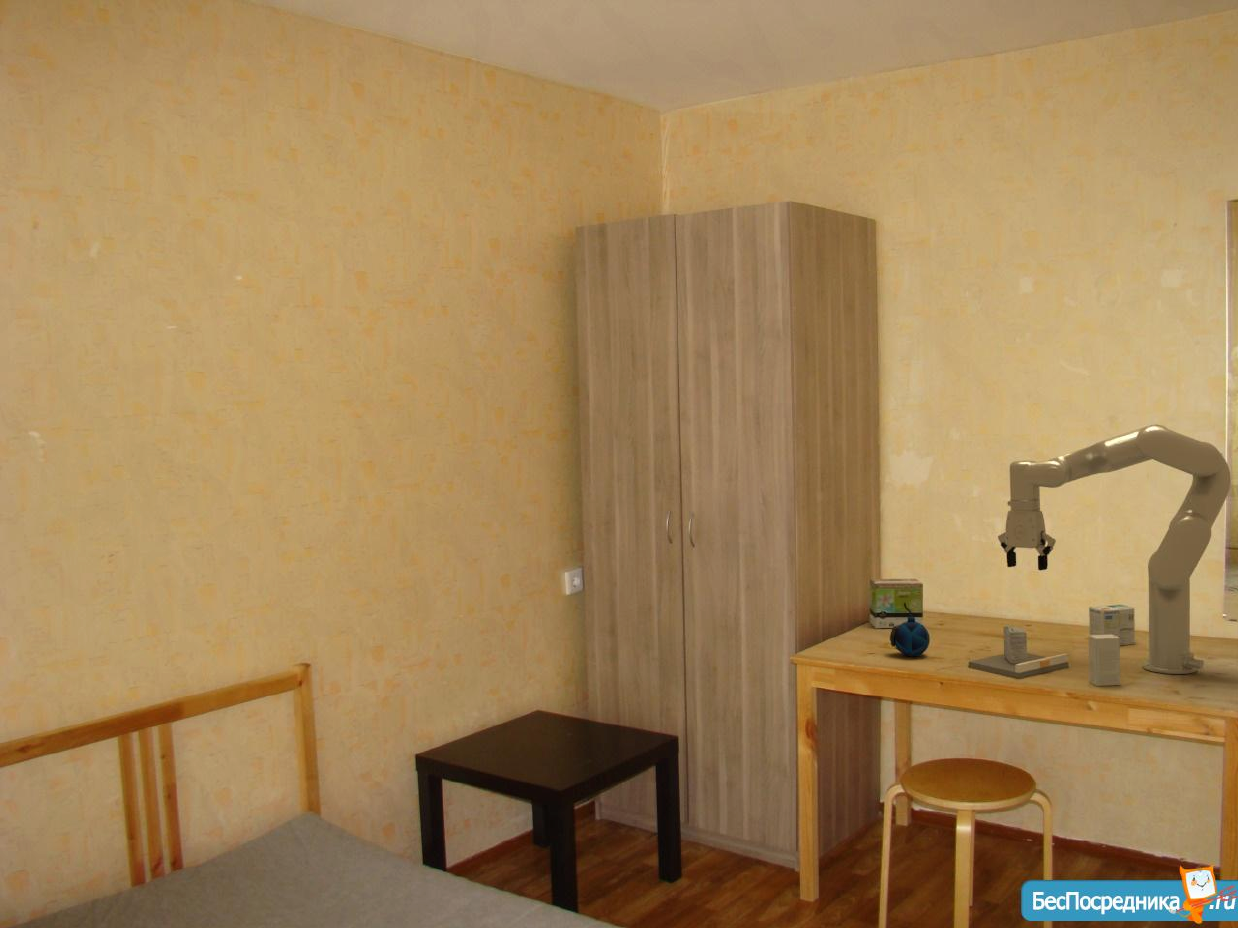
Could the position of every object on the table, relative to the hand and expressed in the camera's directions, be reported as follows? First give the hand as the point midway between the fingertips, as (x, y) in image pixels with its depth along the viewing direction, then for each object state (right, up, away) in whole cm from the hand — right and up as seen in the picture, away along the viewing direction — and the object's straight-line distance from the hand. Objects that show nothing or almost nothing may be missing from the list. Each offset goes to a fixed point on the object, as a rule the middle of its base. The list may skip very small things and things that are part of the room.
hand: (1027, 568), depth 296 cm
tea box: (-23, -24, +51) cm, 60 cm away
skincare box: (+9, -26, -27) cm, 39 cm away
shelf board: (-5, -26, -8) cm, 27 cm away
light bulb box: (+31, -24, +17) cm, 43 cm away
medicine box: (-6, -24, -7) cm, 26 cm away
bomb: (-30, -26, +9) cm, 40 cm away
